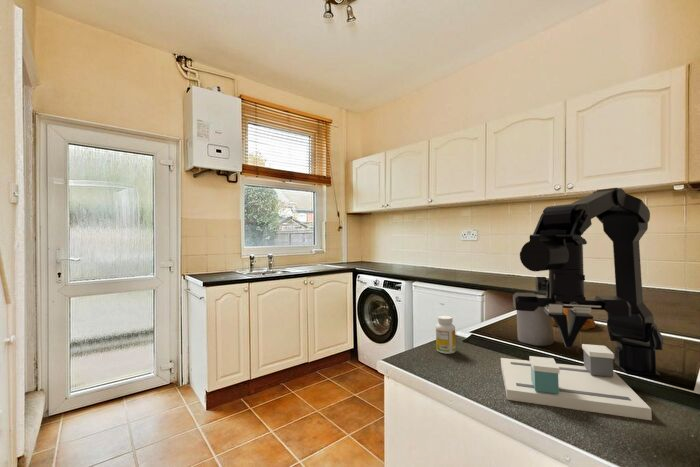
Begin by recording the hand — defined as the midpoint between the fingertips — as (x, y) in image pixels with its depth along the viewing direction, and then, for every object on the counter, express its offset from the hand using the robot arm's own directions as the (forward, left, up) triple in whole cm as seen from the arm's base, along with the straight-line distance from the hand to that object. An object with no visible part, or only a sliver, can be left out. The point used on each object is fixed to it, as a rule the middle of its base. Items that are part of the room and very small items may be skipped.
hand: (568, 347), depth 64 cm
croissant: (-14, -62, -11) cm, 65 cm away
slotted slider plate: (0, -6, -11) cm, 12 cm away
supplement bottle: (+25, -22, -11) cm, 35 cm away
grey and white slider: (-8, -12, -8) cm, 17 cm away
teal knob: (+4, 0, -8) cm, 9 cm away
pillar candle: (0, -39, -11) cm, 41 cm away
